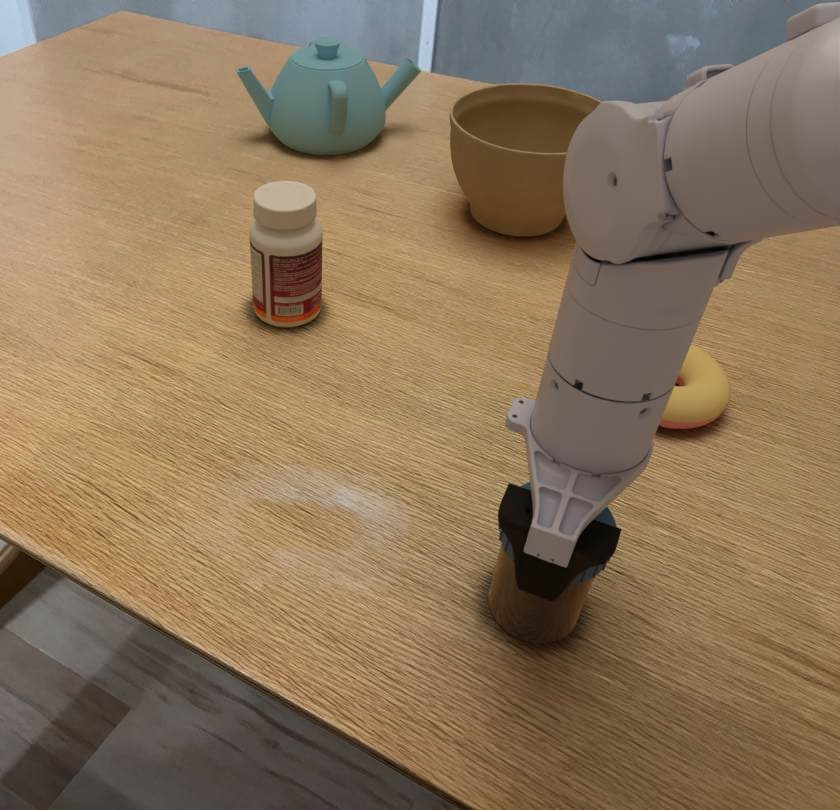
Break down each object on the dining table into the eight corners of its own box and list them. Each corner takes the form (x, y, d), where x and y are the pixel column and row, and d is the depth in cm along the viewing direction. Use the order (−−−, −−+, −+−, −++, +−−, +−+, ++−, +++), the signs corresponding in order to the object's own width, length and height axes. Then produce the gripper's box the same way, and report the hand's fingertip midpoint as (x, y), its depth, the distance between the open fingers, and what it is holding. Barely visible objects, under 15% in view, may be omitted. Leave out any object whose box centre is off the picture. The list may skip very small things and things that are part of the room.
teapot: (360, 176, 93) (365, 75, 85) (235, 142, 100) (229, 47, 92) (419, 128, 103) (428, 34, 95) (301, 100, 110) (301, 10, 102)
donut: (638, 366, 71) (565, 391, 67) (652, 317, 69) (576, 339, 64) (746, 418, 64) (671, 450, 59) (765, 365, 62) (689, 394, 57)
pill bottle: (334, 304, 74) (338, 190, 67) (295, 338, 71) (294, 221, 63) (279, 282, 77) (277, 170, 69) (238, 314, 73) (231, 199, 66)
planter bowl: (408, 201, 89) (417, 101, 81) (524, 168, 94) (543, 72, 87) (503, 273, 78) (524, 166, 71) (628, 231, 84) (659, 128, 77)
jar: (594, 631, 49) (627, 553, 44) (513, 654, 48) (537, 577, 43) (549, 561, 53) (575, 482, 48) (473, 581, 52) (491, 502, 47)
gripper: (562, 264, 44) (517, 444, 53) (479, 432, 34) (441, 617, 43) (702, 298, 41) (630, 481, 51) (654, 489, 32) (576, 672, 41)
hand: (551, 547), depth 47 cm, fingers closed on lid, 6 cm apart
